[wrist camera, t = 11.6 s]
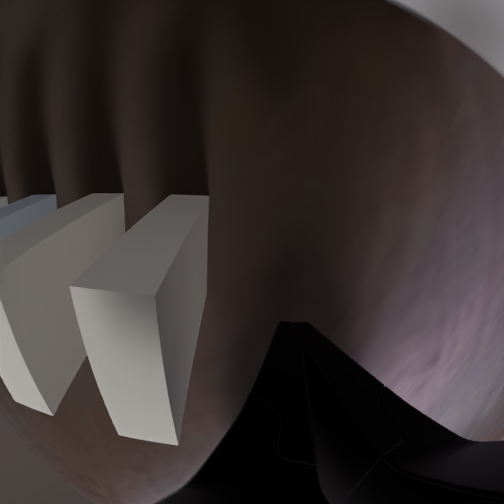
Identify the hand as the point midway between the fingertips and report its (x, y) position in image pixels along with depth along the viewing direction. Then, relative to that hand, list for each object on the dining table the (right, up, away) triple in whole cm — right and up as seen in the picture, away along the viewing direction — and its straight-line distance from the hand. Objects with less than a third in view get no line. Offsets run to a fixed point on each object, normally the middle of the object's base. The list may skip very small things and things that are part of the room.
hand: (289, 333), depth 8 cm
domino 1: (-4, +3, +6) cm, 8 cm away
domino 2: (-8, +3, +6) cm, 10 cm away
